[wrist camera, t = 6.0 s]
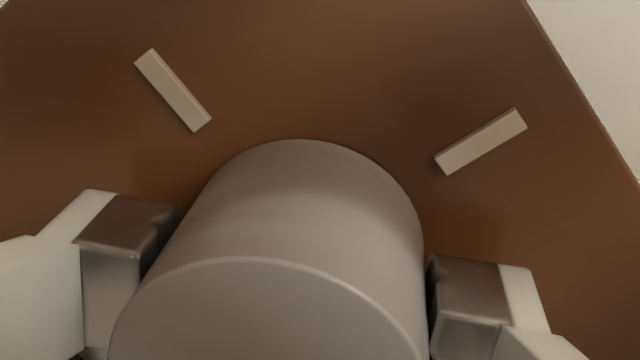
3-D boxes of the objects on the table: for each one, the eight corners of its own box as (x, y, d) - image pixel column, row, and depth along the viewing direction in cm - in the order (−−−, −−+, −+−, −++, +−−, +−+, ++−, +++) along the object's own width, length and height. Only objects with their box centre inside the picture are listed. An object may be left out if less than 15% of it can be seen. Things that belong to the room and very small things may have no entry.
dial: (323, 88, 9) (276, 207, 6) (470, 271, 10) (501, 460, 7) (148, 219, 11) (27, 375, 7) (292, 368, 12) (245, 564, 8)
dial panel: (677, 262, 13) (752, 365, 10) (314, 428, 17) (296, 539, 14) (347, -267, 10) (324, -329, 7) (-18, 82, 13) (-131, 135, 10)
